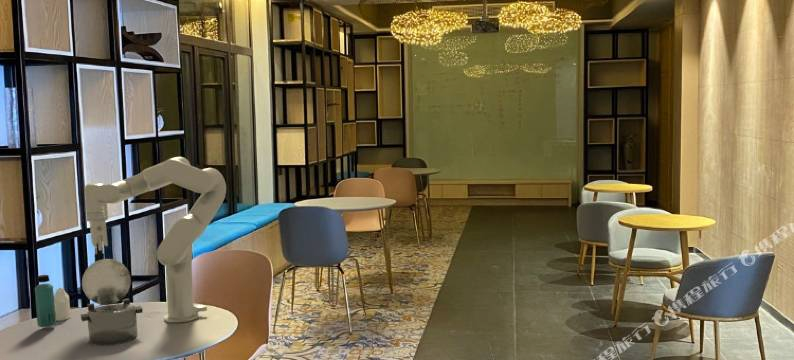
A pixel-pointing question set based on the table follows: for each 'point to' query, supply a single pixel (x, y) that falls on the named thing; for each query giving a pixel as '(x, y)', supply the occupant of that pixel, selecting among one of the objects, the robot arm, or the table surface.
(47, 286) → the beverage bottle
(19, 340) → the table surface
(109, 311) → the cooker pot
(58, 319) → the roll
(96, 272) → the cooker lid
